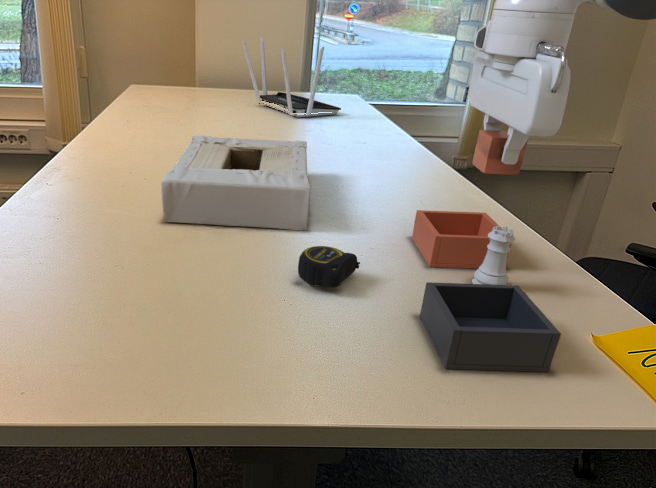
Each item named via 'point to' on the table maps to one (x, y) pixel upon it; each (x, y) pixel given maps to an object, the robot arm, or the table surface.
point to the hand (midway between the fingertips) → (498, 156)
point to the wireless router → (286, 99)
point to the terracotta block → (494, 153)
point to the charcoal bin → (487, 327)
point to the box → (239, 184)
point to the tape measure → (326, 266)
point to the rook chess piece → (495, 258)
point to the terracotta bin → (453, 237)
